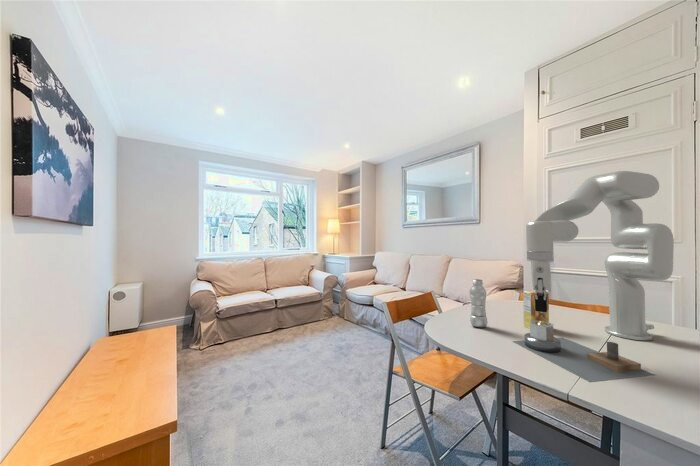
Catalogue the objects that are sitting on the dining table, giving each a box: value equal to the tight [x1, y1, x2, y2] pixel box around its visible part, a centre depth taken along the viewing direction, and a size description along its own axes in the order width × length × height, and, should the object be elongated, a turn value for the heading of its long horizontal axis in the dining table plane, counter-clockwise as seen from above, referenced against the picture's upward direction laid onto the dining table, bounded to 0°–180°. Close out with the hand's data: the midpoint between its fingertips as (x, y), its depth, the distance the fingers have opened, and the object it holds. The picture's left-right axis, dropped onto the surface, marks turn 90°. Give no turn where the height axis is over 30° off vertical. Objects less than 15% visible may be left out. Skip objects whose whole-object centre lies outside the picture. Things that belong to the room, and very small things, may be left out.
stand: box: [587, 341, 642, 372], centre depth 77 cm, size 8×8×6 cm
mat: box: [511, 336, 656, 383], centre depth 83 cm, size 21×27×1 cm
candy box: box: [522, 290, 550, 330], centre depth 109 cm, size 9×4×15 cm, turn 103°
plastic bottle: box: [469, 278, 488, 329], centre depth 112 cm, size 6×7×20 cm
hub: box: [524, 322, 561, 353], centre depth 90 cm, size 10×10×8 cm
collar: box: [529, 320, 555, 342], centre depth 90 cm, size 6×6×5 cm
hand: (541, 309), depth 90 cm, fingers open, 4 cm apart
